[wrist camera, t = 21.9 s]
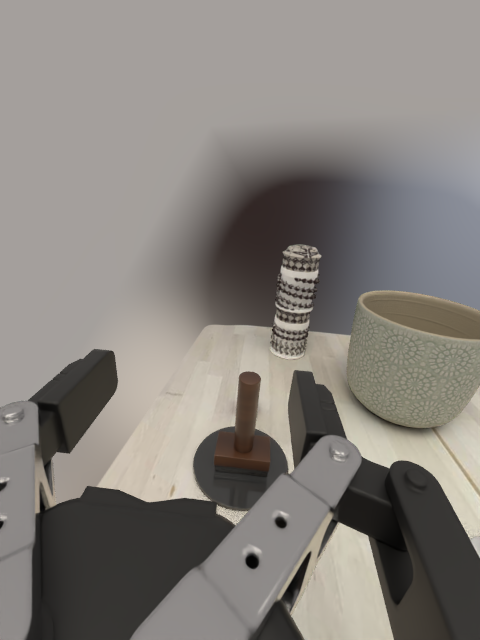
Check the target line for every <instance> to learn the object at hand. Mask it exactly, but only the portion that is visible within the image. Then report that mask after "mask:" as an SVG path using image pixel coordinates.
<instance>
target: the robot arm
mask: <svg viewBox="0 0 480 640" xmlns="http://www.w3.org/2000/svg"><path fill="white" fill-rule="evenodd" d="M117 383H118V378H117V370H116V362H115V355H114V352H113V351H109V350H99V349H94V350H92V351H91V352H90V353H89V354H88V355H87V356H86V357H85V358H84V359H79V360H77V361H75V362H73V363H71V364H69V365H68V366H67V367H66V368H64V369H63V370H62V371H61V372H60V374H58V375H57V376H56V377H54V378H53V380H51V381H50V382H48V383H47V384H46V385H45V386H44V387H43V388H42V389H40V390H39V391H38V392H37V393H36V394H35V395H34V396H33V397H32V398H30V399H29V400H28V401H19V402H14V403H10V404H8V405H5V406H3V407H1V408H0V640H304V638H303V636H302V634H301V633H300V631H299V629H298V627H297V626H296V624H295V622H294V620H293V618H292V617H291V615H292V614H293V612H294V610H295V608H296V606H297V604H298V602H299V601H300V599H301V597H302V595H303V593H304V591H305V589H306V587H307V585H308V583H309V580H310V578H311V576H312V573H313V571H314V569H315V567H316V565H317V563H318V561H319V560H320V558H321V556H322V554H323V552H324V551H325V549H326V547H327V545H328V543H329V541H330V540H331V538H332V536H333V534H334V532H335V531H336V529H337V527H338V525H339V523H342V524H344V525H346V526H348V527H351V528H353V529H355V530H357V531H359V532H361V533H364V534H366V535H368V537H369V541H370V545H371V549H372V553H373V557H374V561H375V565H376V569H377V573H378V577H379V581H380V585H381V589H382V593H383V597H384V601H385V605H386V609H387V613H388V617H389V621H390V625H391V629H392V633H393V637H394V640H480V557H479V556H478V554H477V552H476V550H475V548H474V546H473V545H472V543H471V541H470V539H469V537H468V535H467V534H466V532H465V530H464V528H463V526H462V524H461V522H460V521H459V519H458V517H457V515H456V513H455V511H454V510H453V508H452V506H451V504H450V502H449V500H448V498H447V497H446V495H445V493H444V491H443V489H442V487H441V486H440V484H439V482H438V481H437V480H436V478H435V477H434V476H433V475H432V474H431V473H430V472H428V471H427V470H426V469H424V468H423V467H421V466H419V465H417V464H415V463H412V462H409V461H396V462H394V463H393V464H392V465H391V467H390V469H389V468H387V467H384V466H381V465H379V464H376V463H373V462H371V461H369V460H367V459H365V458H363V457H362V456H361V454H360V452H359V450H358V449H357V447H356V446H355V445H354V444H353V443H351V442H350V441H349V440H347V438H346V435H345V432H344V429H343V426H342V423H341V420H340V417H339V414H338V412H337V408H336V405H335V404H334V399H333V396H332V393H331V392H330V391H329V390H328V389H327V388H326V387H325V386H324V385H320V384H315V380H314V376H313V373H312V372H308V371H298V370H295V371H294V373H293V379H292V384H291V390H290V395H289V402H288V415H289V424H290V433H291V442H292V451H293V460H294V470H293V472H292V473H291V474H287V473H286V472H284V473H282V474H281V475H280V476H279V477H278V478H277V479H276V480H275V482H274V483H273V484H272V485H271V486H270V487H269V488H268V490H267V491H266V492H265V493H264V494H263V495H262V496H261V498H260V499H259V500H258V501H257V502H256V503H255V504H254V506H253V507H252V508H251V509H250V510H249V511H248V512H247V514H246V515H245V516H244V517H243V518H242V519H241V520H240V522H239V523H238V524H237V525H234V524H233V523H232V522H231V521H229V520H228V519H226V518H224V517H223V516H221V515H218V514H216V508H217V502H212V501H204V500H196V499H188V498H181V499H174V500H166V501H158V502H145V501H143V500H141V499H138V498H136V497H134V496H131V495H129V494H127V493H125V492H122V491H120V490H115V489H107V488H99V487H91V486H87V488H86V489H85V491H84V493H83V494H82V496H81V497H80V498H76V499H72V500H68V501H65V502H62V503H59V504H57V505H56V498H55V484H54V469H53V461H52V457H53V456H54V454H55V453H56V452H61V453H70V452H71V451H72V450H73V448H74V447H75V445H76V444H77V443H78V441H79V440H80V438H81V437H82V436H83V435H84V433H85V432H86V430H87V429H88V428H89V427H90V425H91V424H92V423H93V421H94V420H95V419H96V417H97V416H98V415H99V413H100V412H101V411H102V409H103V408H104V407H105V405H106V404H107V403H108V401H109V400H110V399H111V397H112V396H113V395H114V393H115V391H116V388H117Z"/></svg>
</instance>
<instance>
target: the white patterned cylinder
mask: <svg viewBox="0 0 480 640" xmlns="http://www.w3.org/2000/svg"><path fill="white" fill-rule="evenodd" d="M283 253H284V258H283V265H282V266H281V273H280V274H279V275H278V278H277V279H278V283H277V284H276V286H277V287H278V289H279V290H277V293H276V295H277V297H276V299H275V301H276V306H277V314H276V315H275V321H274V323H273V325H274V327H273V329H272V331H273V333H272V335H271V339H272V340H271V341H270V344H271V346H270V350H271V352H272V353H273V354H274V355H276V356H278V357H280V358H284V359H299V358H301V357H303V356H304V353H305V351H304V350H306V348H305V347H306V344H307V339H306V338H307V337H308V331H309V326H308V325H309V314H310V311H311V310H312V309H313V306H314V303H313V302H311V300H312V299H315V298H316V295H315V294H314V292H317V288H316V287H315V286H314V284H317V283H319V282H320V281H319V279H318V278H317V276H318V275H319V274H318V264H319V259H320V257H321V255H319V253H318V251H317V249H316V248H314V247H312V246H307V245H291V246H289V247H288V248H287V250H286V251H284V252H283ZM281 276H282V277H281ZM280 283H281V285H280Z"/></svg>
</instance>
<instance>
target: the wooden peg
mask: <svg viewBox="0 0 480 640" xmlns="http://www.w3.org/2000/svg"><path fill="white" fill-rule="evenodd" d="M260 382H261V378H260V376H259V375H258V374H257V373H254V372H243V373H241V374H240V376H239V384H238V397H237V409H236V422H235V433H232V432H224V431H219V434H218V439H217V444H216V449H215V454H214V465H215V471H220V472H228V473H236V474H245V475H253V476H261V477H267V474H268V472H269V467H270V437H267V436H258V435H254V434H255V425H256V417H257V408H258V399H259V391H260Z"/></svg>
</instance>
